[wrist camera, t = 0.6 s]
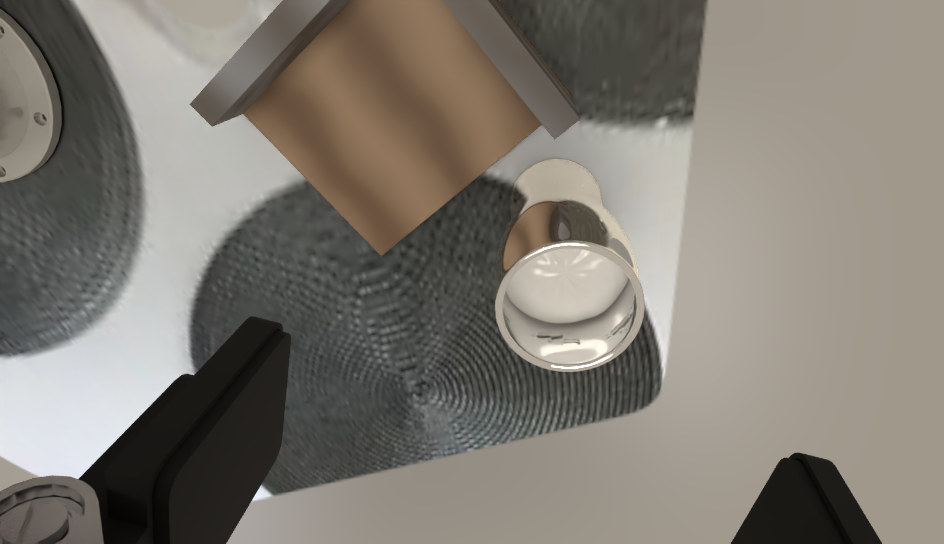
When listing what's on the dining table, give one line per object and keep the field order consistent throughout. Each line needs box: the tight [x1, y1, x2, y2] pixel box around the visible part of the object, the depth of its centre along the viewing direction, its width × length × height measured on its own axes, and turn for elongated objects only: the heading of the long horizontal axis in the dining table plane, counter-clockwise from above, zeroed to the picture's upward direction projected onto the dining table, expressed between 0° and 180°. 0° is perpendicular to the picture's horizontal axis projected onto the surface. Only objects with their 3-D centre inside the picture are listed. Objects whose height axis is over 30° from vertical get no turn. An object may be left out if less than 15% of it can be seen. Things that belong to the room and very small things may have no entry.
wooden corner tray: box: [190, 0, 580, 256], centre depth 34 cm, size 16×14×8 cm
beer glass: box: [494, 159, 645, 372], centre depth 33 cm, size 7×7×15 cm
